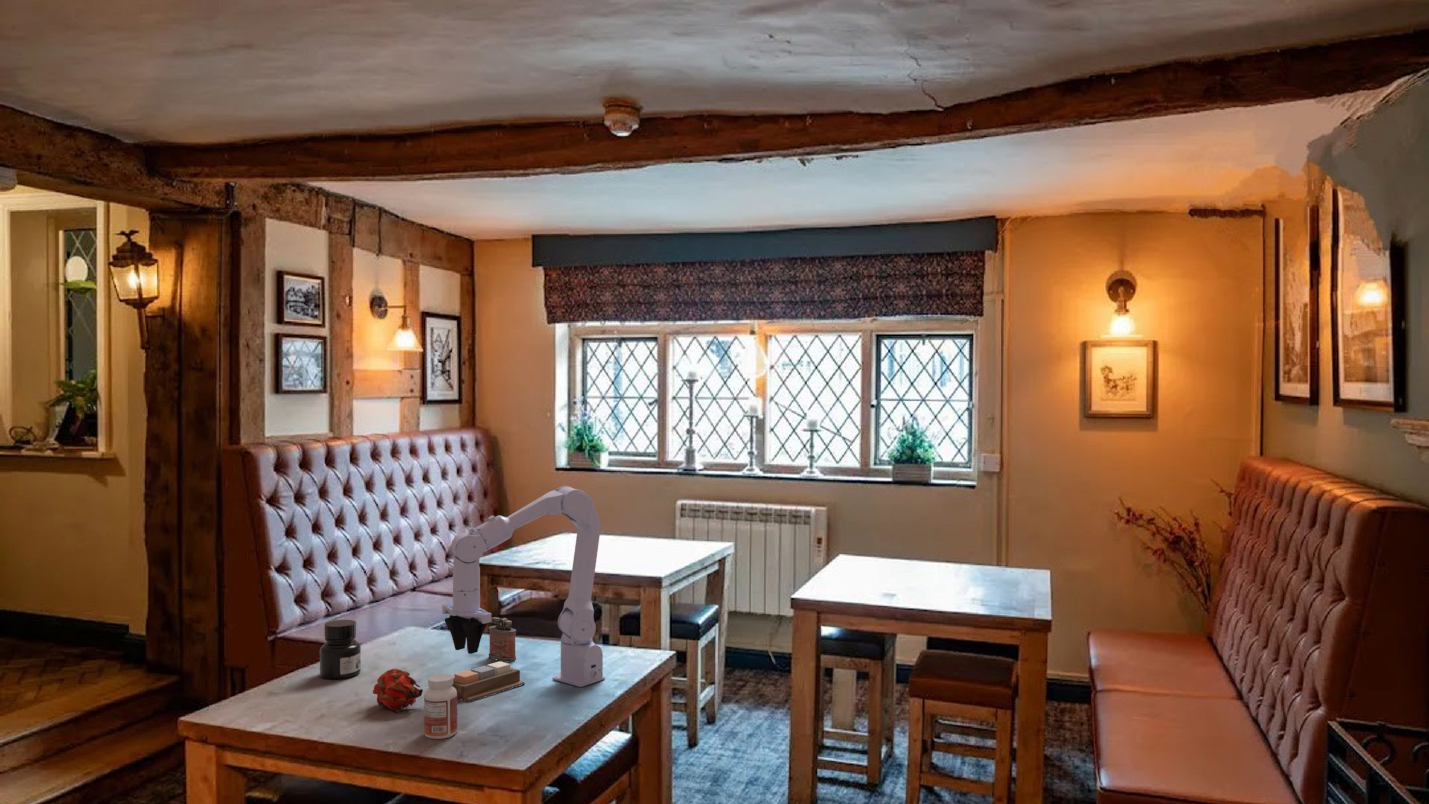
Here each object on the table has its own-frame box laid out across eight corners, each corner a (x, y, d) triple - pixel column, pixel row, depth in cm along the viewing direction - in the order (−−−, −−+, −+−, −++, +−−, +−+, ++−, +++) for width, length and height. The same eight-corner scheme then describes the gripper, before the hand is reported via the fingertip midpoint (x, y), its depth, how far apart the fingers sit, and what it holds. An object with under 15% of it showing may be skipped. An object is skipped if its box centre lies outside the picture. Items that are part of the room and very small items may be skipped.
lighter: (519, 659, 241) (519, 619, 240) (509, 663, 238) (509, 622, 238) (495, 654, 245) (495, 614, 245) (485, 657, 242) (485, 617, 242)
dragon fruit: (383, 706, 210) (413, 728, 203) (355, 691, 205) (385, 713, 197) (406, 670, 213) (437, 690, 206) (379, 655, 208) (410, 675, 200)
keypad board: (524, 684, 221) (524, 671, 221) (468, 702, 209) (468, 688, 209) (495, 676, 227) (495, 663, 227) (440, 692, 215) (440, 679, 215)
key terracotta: (478, 684, 215) (478, 673, 215) (464, 688, 212) (464, 677, 212) (467, 681, 217) (467, 670, 217) (454, 685, 214) (454, 674, 214)
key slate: (494, 679, 218) (494, 668, 218) (481, 683, 215) (481, 672, 215) (484, 676, 220) (484, 665, 220) (471, 680, 218) (471, 669, 218)
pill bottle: (446, 726, 194) (446, 670, 194) (463, 734, 190) (463, 677, 190) (417, 734, 190) (418, 677, 190) (435, 742, 186) (435, 684, 185)
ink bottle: (351, 681, 223) (351, 628, 223) (312, 680, 223) (312, 628, 223) (367, 668, 233) (367, 618, 232) (330, 668, 233) (330, 617, 233)
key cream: (510, 674, 222) (510, 664, 222) (497, 678, 219) (497, 667, 219) (499, 671, 224) (499, 661, 224) (487, 675, 221) (487, 664, 221)
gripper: (430, 587, 215) (430, 649, 215) (472, 596, 206) (472, 661, 207) (457, 582, 221) (457, 642, 221) (499, 591, 212) (499, 653, 212)
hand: (466, 651), depth 214 cm, fingers open, 4 cm apart
